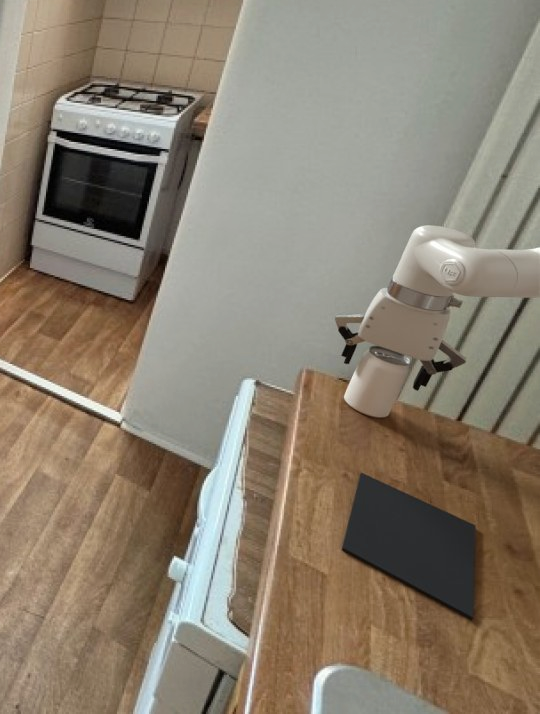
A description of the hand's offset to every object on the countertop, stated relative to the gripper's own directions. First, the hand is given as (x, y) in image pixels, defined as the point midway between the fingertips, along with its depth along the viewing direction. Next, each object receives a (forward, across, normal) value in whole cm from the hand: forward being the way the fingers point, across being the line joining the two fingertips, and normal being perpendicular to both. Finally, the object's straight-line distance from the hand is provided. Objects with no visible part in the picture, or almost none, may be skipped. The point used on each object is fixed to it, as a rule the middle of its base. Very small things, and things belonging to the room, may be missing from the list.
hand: (380, 373), depth 111 cm
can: (+8, 0, 0) cm, 8 cm away
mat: (+8, -8, +32) cm, 34 cm away
